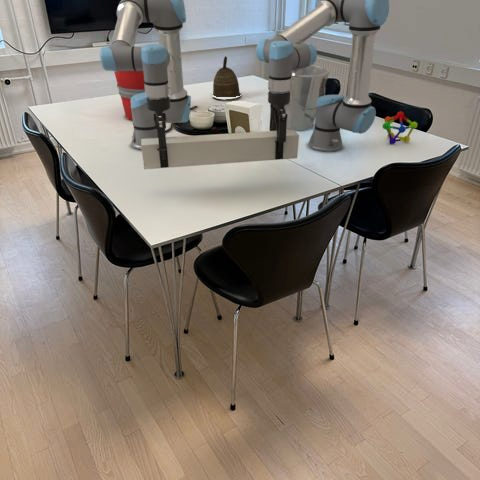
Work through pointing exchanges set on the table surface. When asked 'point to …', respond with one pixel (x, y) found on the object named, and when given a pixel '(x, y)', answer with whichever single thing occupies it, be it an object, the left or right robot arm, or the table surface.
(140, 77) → the bucket
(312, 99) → the bucket
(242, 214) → the table surface
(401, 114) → the educational toy
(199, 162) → the beam
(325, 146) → the right robot arm
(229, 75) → the bell
